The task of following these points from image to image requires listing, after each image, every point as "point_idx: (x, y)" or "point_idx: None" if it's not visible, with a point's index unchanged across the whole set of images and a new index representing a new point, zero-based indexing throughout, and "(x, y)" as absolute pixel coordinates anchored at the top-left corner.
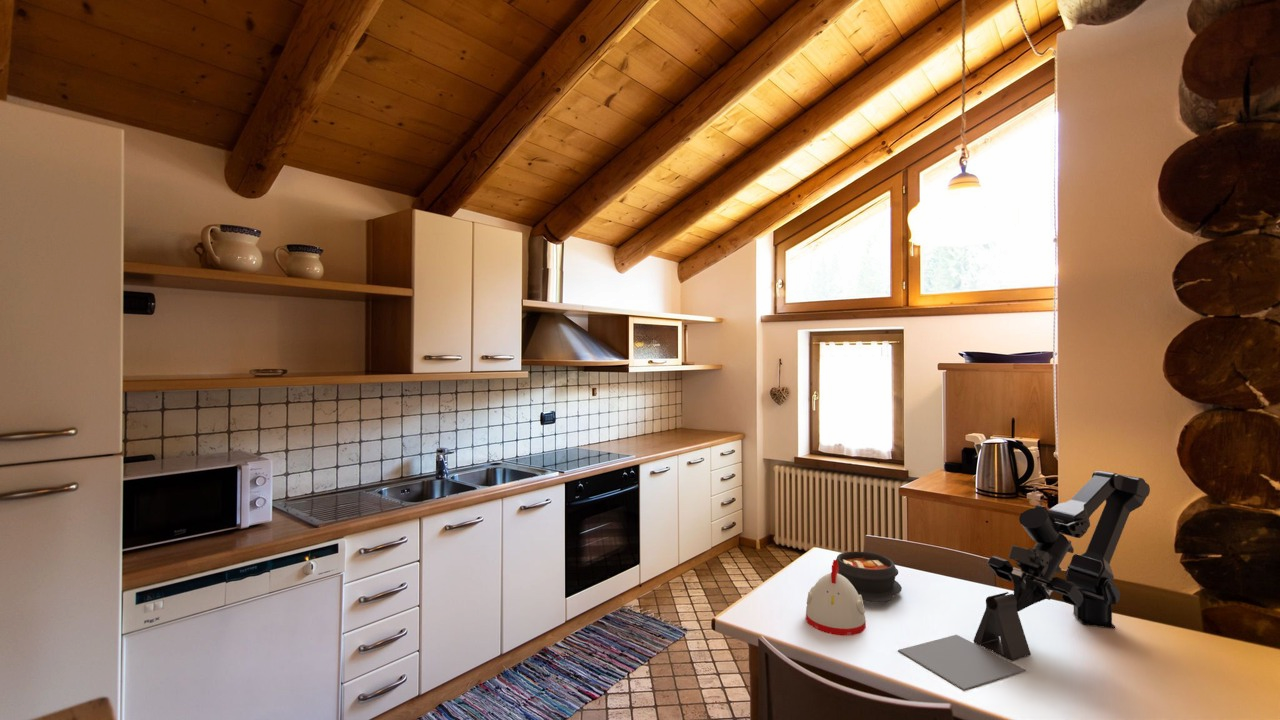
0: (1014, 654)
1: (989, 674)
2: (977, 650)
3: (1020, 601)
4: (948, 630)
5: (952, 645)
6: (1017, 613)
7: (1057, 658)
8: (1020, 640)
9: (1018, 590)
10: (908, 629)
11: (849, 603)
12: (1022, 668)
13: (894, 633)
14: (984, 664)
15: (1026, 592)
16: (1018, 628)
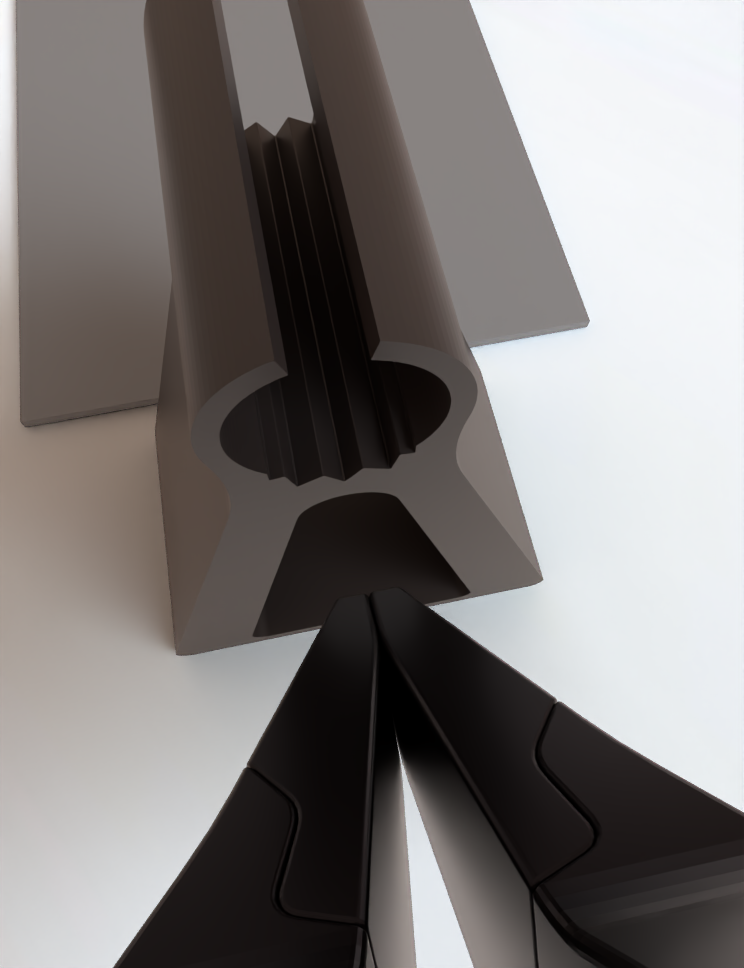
0: (159, 455)
1: (66, 172)
2: None
3: (317, 678)
4: (682, 330)
5: (436, 198)
6: (223, 521)
7: (64, 879)
8: (177, 536)
9: (498, 784)
10: (706, 103)
11: None
12: (38, 410)
13: (653, 13)
14: None
15: (259, 869)
16: (194, 523)
